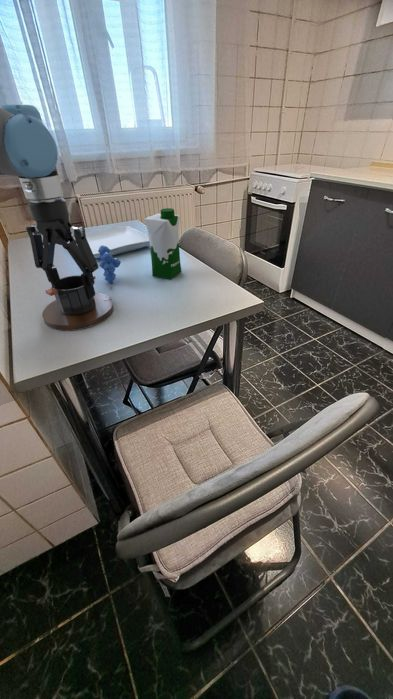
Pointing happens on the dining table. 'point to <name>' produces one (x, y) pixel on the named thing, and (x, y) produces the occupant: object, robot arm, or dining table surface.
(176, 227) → the milk carton
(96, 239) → the square plate
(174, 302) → the dining table surface
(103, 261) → the grapes
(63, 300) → the cooking pot
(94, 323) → the turntable
